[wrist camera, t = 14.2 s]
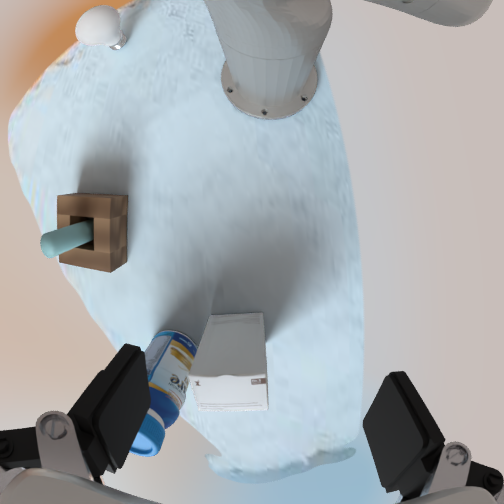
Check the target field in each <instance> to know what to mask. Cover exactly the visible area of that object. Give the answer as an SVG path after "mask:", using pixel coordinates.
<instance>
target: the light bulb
mask: <svg viewBox="0 0 504 504" xmlns="http://www.w3.org/2000/svg"><path fill="white" fill-rule="evenodd" d="M120 21H121V18H120V15H119V13H118V11H117V10H116V9H114V8H113V7H111V6H107V5H100V6H96V7H93V8H91V9H89V10H88V11H86V12H85V13H84V14H83V15H82V16H81V17H80V19H79V20H78V22H77V24H76V29H75V31H76V37H77V38H78V40H79V41H80V42H81V43H82V44H84V45H87V46H97V45H105V46H109V47H110V48H112V49H113V50H117V49H120V48H121V47H123V46H124V44H125V43H126V36H125V35H124V34H123V33H122V30H121V29H120Z"/></svg>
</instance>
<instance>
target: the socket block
mask: <svg viewBox="0 0 504 504" xmlns="http://www.w3.org/2000/svg"><path fill="white" fill-rule="evenodd" d="M127 208H128V195H111V194H90V193H73V194H65V195H58V196H57V229H60V228H63V227H67V226H70V225H73V224H76V223H79V222H83V221H86V220H89V219H93V218H94V240H91V241H89V242H87V243H84V244H82V245H80V246H77V247H75V248H73V249H70V250H68V251H66V252H64V253H62V254H59V262H60V263H65V264H70V265H74V266H79V267H84V268H89V269H94V270H99V271H104V272H110V273H111V272H113V271H114V270H116V269H117V268H119V267H120V266H122V265H123V264H125V263H126V262H127Z"/></svg>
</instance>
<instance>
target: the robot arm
mask: <svg viewBox="0 0 504 504" xmlns="http://www.w3.org/2000/svg"><path fill="white" fill-rule="evenodd" d="M203 1H204V2H205V4H206V6H207V8H208V11H209V13H210V16H211V18H212V21H213V23H214V26H215V29H216V32H217V35H218V38H219V41H220V44H221V46H222V49H223V52H224V55H225V58H226V61H225V63H224V65H223V68H222V72H221V82H222V87H223V90H224V92H225V94H226V96H227V98H228V100H229V101H230V102H231V103H232V104H233V105H234V106H235V107H236V108H237V109H239V110H240V111H241V112H243V113H245V114H247V115H249V116H252V117H255V118H259V119H266V120H276V119H282V118H286V117H289V116H292V115H294V114H296V113H297V112H299V111H301V110H302V109H303V108H304V107H305V106H306V105H307V104H308V103H309V102H310V100H311V99H312V97H313V95H314V94H315V91H316V87H317V79H318V78H317V71H316V68H315V66H314V63H315V61H316V58H317V56H318V54H319V52H320V49H321V47H322V45H323V42H324V40H325V38H326V36H327V33H328V31H329V28H330V25H331V21H332V6H331V2H330V0H203ZM365 1H369V2H372V3H376V4H380V5H383V6H386V7H390V8H393V9H396V10H399V11H402V12H405V13H408V14H410V15H413V16H415V17H418V18H421V19H424V20H427V21H430V22H433V23H436V24H439V25H444V26H453V27H454V26H455V27H459V26H465V25H468V24H471V23H473V22H475V21H476V20H478V19H479V18H480V17H482V16H483V14H484V13H485V12H486V11H487V10H488V8H489V6H490V5H491V3H492V0H365ZM230 90H232V91H233V92H231V93H229V91H230ZM302 98H304V99H305V101H303V100H302ZM263 112H266V113H267V114H266V115H263ZM150 405H151V396H150V390H149V383H148V376H147V368H146V359H145V353H144V352H143V351H141V348H140V347H138V346H134V345H130V344H127V343H126V344H124V345H123V347H122V348H121V349H120V350H119V352H118V353H117V354H116V355H115V357H114V358H113V359H112V361H111V362H110V363H109V364H108V366H107V367H106V369H105V370H101V371H100V372H99V373H98V374H97V375H96V377H95V378H94V379H93V380H92V382H91V383H90V384H89V386H88V387H87V388H86V390H85V391H84V392H83V394H82V395H81V396H80V398H79V399H78V400H77V402H76V403H75V404H74V406H73V407H72V408H71V410H70V411H69V412H68V414H67V415H66V414H64V413H63V412H59V411H50V412H46V413H44V414H42V415H41V416H40V417H39V418H38V419H37V422H36V427H29V428H22V429H13V430H3V431H0V504H161V503H158V502H154V501H150V500H147V499H143V498H140V497H137V496H134V495H131V494H127V493H124V492H122V491H119V490H116V489H113V488H111V487H108V486H106V485H105V483H104V481H103V478H102V476H101V475H103V474H104V472H105V470H107V471H109V472H112V473H114V474H115V472H116V470H117V468H119V469H121V468H122V466H123V464H124V462H125V460H126V457H127V455H128V453H129V451H130V449H131V447H132V444H133V442H134V440H135V438H136V436H137V434H138V431H139V429H140V427H141V425H142V423H143V421H144V418H145V416H146V414H147V412H148V410H149V408H150ZM363 428H364V431H365V434H366V437H367V440H368V443H369V446H370V449H371V452H372V456H373V459H374V462H375V465H376V469H377V472H378V475H379V479H380V482H381V485H382V487H384V488H385V489H386V492H387V493H389V492H393V491H397V490H399V491H400V496H399V497H398V499H397V501H396V503H395V504H504V485H503V483H504V482H503V481H504V480H503V476H502V474H501V473H500V472H499V471H498V470H496V469H494V468H491V467H487V466H484V465H481V464H479V463H476V462H473V461H471V453H470V450H469V449H468V448H467V446H465V445H464V444H462V443H460V442H450V443H448V444H447V445H446V446H445V445H444V442H445V438H444V436H443V434H442V433H441V431H440V429H439V427H438V425H437V424H436V422H435V420H434V419H433V417H432V415H431V413H430V412H429V410H428V408H427V407H426V405H425V403H424V402H423V400H422V398H421V397H420V395H419V394H418V392H417V390H416V389H415V387H414V385H413V384H412V382H411V381H410V379H409V377H408V376H407V374H406V373H405V372H404V371H398V372H391V373H390V374H389V375H388V376H386V377H385V379H384V381H383V383H382V385H381V387H380V389H379V391H378V393H377V395H376V397H375V399H374V401H373V403H372V405H371V407H370V408H369V410H368V412H367V414H366V416H365V418H364V420H363Z"/></svg>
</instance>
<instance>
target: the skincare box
mask: <svg viewBox="0 0 504 504" xmlns="http://www.w3.org/2000/svg"><path fill="white" fill-rule="evenodd" d="M188 377H189V380H190V384H191V387H192V390H193V393H194V397H195V400H196V403H197V406H198V410H199V411H257V410H268V379H267V360H266V346H265V330H264V318H263V313H262V312H261V313H243V314H224V315H210V316H209V319H208V321H207V324H206V327H205V330H204V333H203V336H202V338H201V341H200V344H199V347H198V349H197V352H196V355H195V358H194V361H193V363H192V366H191V369H190V372H189V374H188Z"/></svg>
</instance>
